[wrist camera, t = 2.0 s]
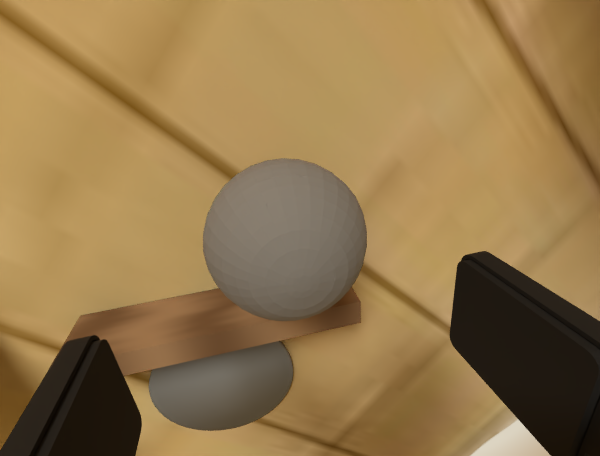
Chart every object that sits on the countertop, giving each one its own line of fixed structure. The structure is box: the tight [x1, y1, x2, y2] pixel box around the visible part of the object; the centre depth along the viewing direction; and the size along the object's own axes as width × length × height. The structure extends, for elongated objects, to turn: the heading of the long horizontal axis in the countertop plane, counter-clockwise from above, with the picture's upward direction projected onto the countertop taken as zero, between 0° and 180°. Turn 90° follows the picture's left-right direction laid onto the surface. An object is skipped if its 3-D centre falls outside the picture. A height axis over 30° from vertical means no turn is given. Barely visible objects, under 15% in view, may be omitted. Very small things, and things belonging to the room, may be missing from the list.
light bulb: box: [203, 159, 367, 321], centre depth 14 cm, size 6×6×10 cm
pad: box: [149, 341, 293, 431], centre depth 24 cm, size 10×10×1 cm
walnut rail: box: [49, 287, 361, 376], centre depth 19 cm, size 16×2×4 cm, turn 96°
